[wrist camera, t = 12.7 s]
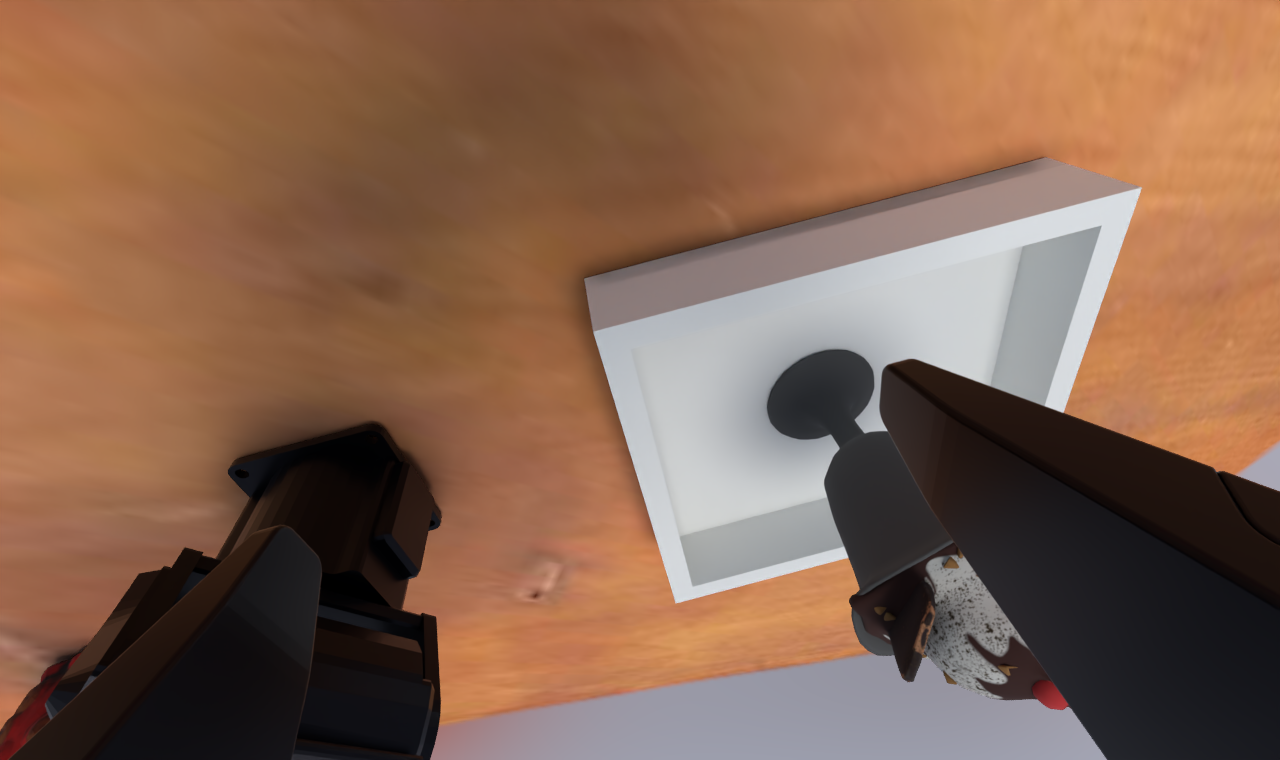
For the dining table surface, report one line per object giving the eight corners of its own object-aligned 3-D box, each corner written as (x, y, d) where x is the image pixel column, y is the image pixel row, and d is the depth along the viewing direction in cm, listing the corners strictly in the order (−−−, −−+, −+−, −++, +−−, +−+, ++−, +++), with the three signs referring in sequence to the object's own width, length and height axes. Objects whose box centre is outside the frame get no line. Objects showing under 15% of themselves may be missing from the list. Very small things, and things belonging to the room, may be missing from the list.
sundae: (916, 390, 25) (1273, 761, 13) (795, 471, 27) (1007, 859, 15) (852, 299, 22) (1259, 687, 9) (719, 399, 23) (914, 828, 11)
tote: (660, 537, 30) (676, 603, 27) (584, 278, 20) (593, 331, 17) (976, 454, 30) (1029, 509, 27) (1046, 157, 20) (1141, 187, 17)
